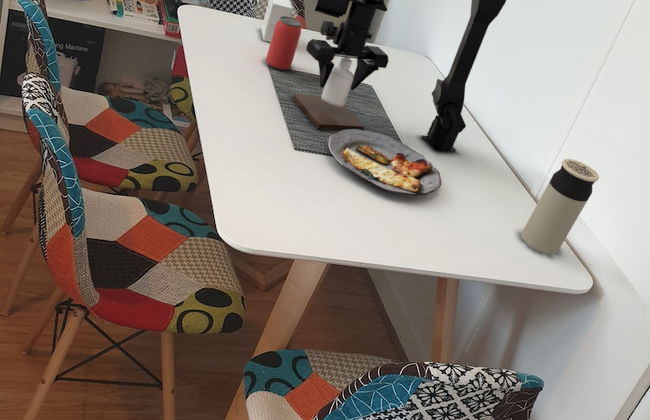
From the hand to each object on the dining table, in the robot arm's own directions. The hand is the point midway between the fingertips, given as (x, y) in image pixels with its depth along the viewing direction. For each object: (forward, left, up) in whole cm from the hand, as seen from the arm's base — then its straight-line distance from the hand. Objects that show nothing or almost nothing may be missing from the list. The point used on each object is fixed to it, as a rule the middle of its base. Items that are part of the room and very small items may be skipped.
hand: (336, 88), depth 168 cm
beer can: (+25, +2, -7) cm, 26 cm away
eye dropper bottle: (0, 0, -4) cm, 4 cm away
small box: (+43, -4, -7) cm, 44 cm away
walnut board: (0, 0, -7) cm, 7 cm away
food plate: (-23, -2, -7) cm, 24 cm away
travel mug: (-50, -25, -7) cm, 56 cm away
